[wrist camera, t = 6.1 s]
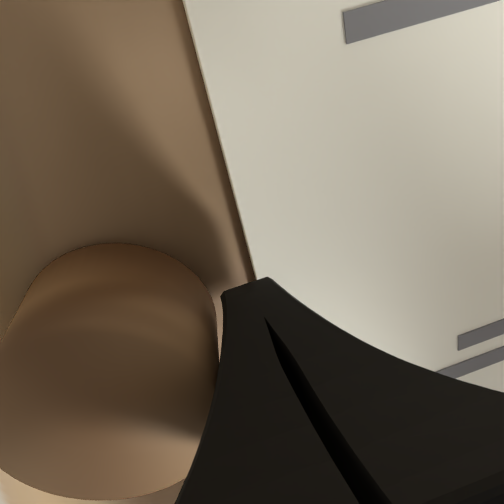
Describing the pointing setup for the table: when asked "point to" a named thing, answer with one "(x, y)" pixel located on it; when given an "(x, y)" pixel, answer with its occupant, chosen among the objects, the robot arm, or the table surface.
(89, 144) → the table surface
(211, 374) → the wooden cylinder
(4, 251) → the table surface
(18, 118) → the table surface
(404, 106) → the letter
